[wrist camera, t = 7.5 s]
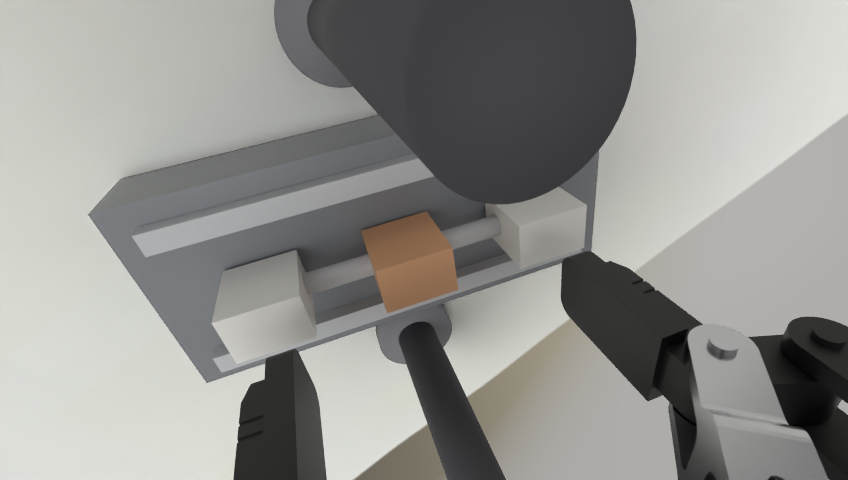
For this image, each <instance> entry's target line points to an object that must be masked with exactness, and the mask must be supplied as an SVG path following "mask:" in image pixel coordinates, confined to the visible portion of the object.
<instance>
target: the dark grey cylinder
mask: <svg viewBox="0 0 848 480" xmlns="http://www.w3.org/2000/svg"><path fill="white" fill-rule="evenodd" d="M274 15H275V25H276V31H277V34H278V38H279V41H280V43H281V45H282V47H283V49H284V51H285V53H286V55H287V56H288V58H289V59H290V60H291V62H292V63H293V64H294V65H295V66H296V67H297V68H298V69H299V70H300V71H301V72H302V73H303V74H304V75H306V76H307V77H309V78H310V79H312V80H314V81H316V82H318V83H320V84H323V85H326V86H331V87H340V88H342V87H351V86H354V88H355V89H356V90H357V91H358V92H359V93H360V94H361V95H362V96H363V97H364V99H365V100H366V101H367V102H368V103H369V104H370V105H371V106H372V107H373V109H374V110H375V111H376V112H377V113H378V114H379V115H380V116H381V117H382V119H383V120H384V121H385V122H386V123H387V124H388V125H389V126H390V127H391V128H392V130H393V131H394V132H395V133H396V134H397V135H398V136H399V137H400V138H401V140H402V141H403V142H404V143H405V144H406V145H407V146H408V147H409V148H410V149H411V151H412V152H413V153H414V154H415V155H416V156H417V157H418V158H419V159H420V161H421V162H422V163H423V164H424V165H425V166H426V167H427V168H428V169H429V171H430V172H431V173H432V174H433V175H434V176H435V177H436V178H437V179H438V180H439V181H440V182H441V183H442V184H444V185H445V186H446V187H447V188H449V189H450V190H452V191H453V192H455V193H457V194H458V195H461V196H463V197H465V198H467V199H470V200H473V201H477V202H481V203H487V204H512V203H519V202H523V201H527V200H530V199H534V198H536V197H539V196H541V195H544V194H546V193H548V192H550V191H552V190H553V189H555V188H557V187H559V186H560V185H562V184H563V183H565V182H566V181H567V180H569V179H570V178H571V177H573V176H574V175H575V174H576V173H577V172H579V171H580V170H581V169H582V168H583V167H584V166H585V165H586V164H587V163H588V162H589V161H590V160H591V159H592V158H593V156H594V155H595V154H596V153H597V151H598V150H599V149H600V148H601V146H602V145H603V144H604V142H605V141H606V139H607V138H608V136H609V135H610V133H611V131H612V129H613V128H614V126H615V124H616V122H617V120H618V118H619V116H620V114H621V111H622V109H623V107H624V105H625V102H626V99H627V96H628V93H629V90H630V86H631V81H632V77H633V73H634V66H635V58H636V29H635V20H634V15H633V10H632V5H631V2H630V0H276V1H275V10H274Z"/></svg>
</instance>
